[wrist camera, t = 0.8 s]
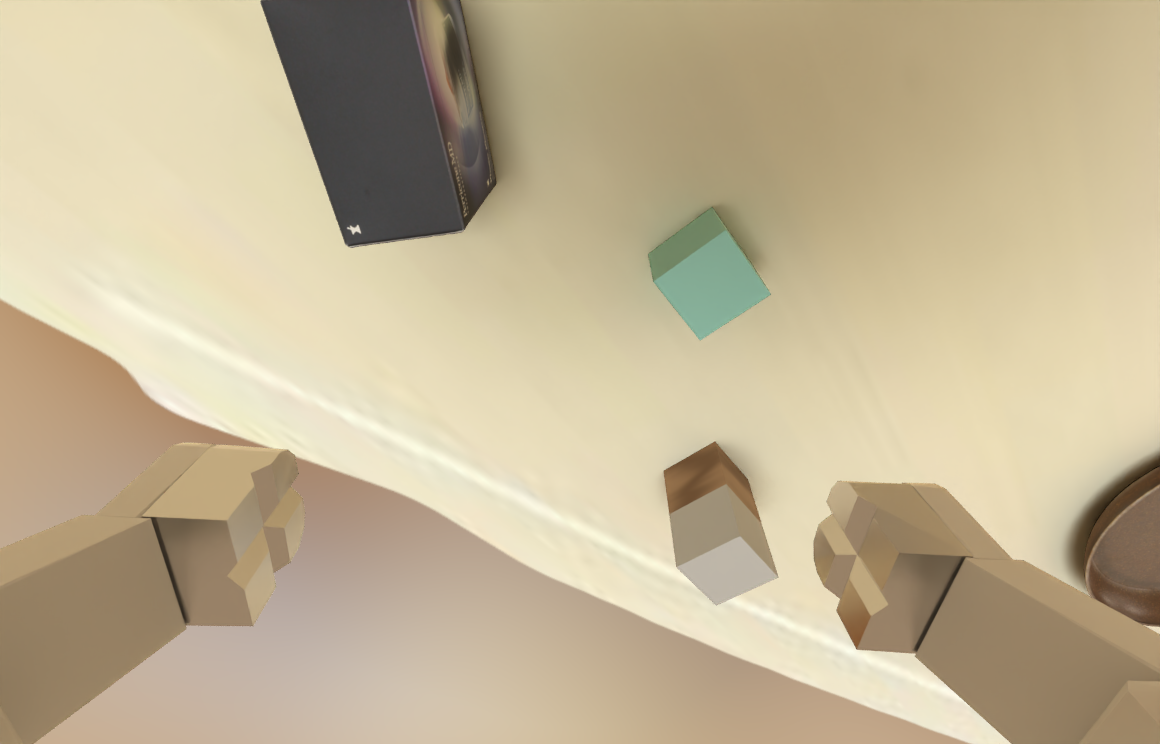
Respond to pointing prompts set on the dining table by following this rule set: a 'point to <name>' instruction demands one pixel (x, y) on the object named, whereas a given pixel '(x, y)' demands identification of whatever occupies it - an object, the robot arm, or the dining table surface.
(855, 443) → the dining table surface
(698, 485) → the walnut base block
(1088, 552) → the plant saucer
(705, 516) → the grey mid block
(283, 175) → the dining table surface
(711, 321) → the teal cube
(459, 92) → the small box
